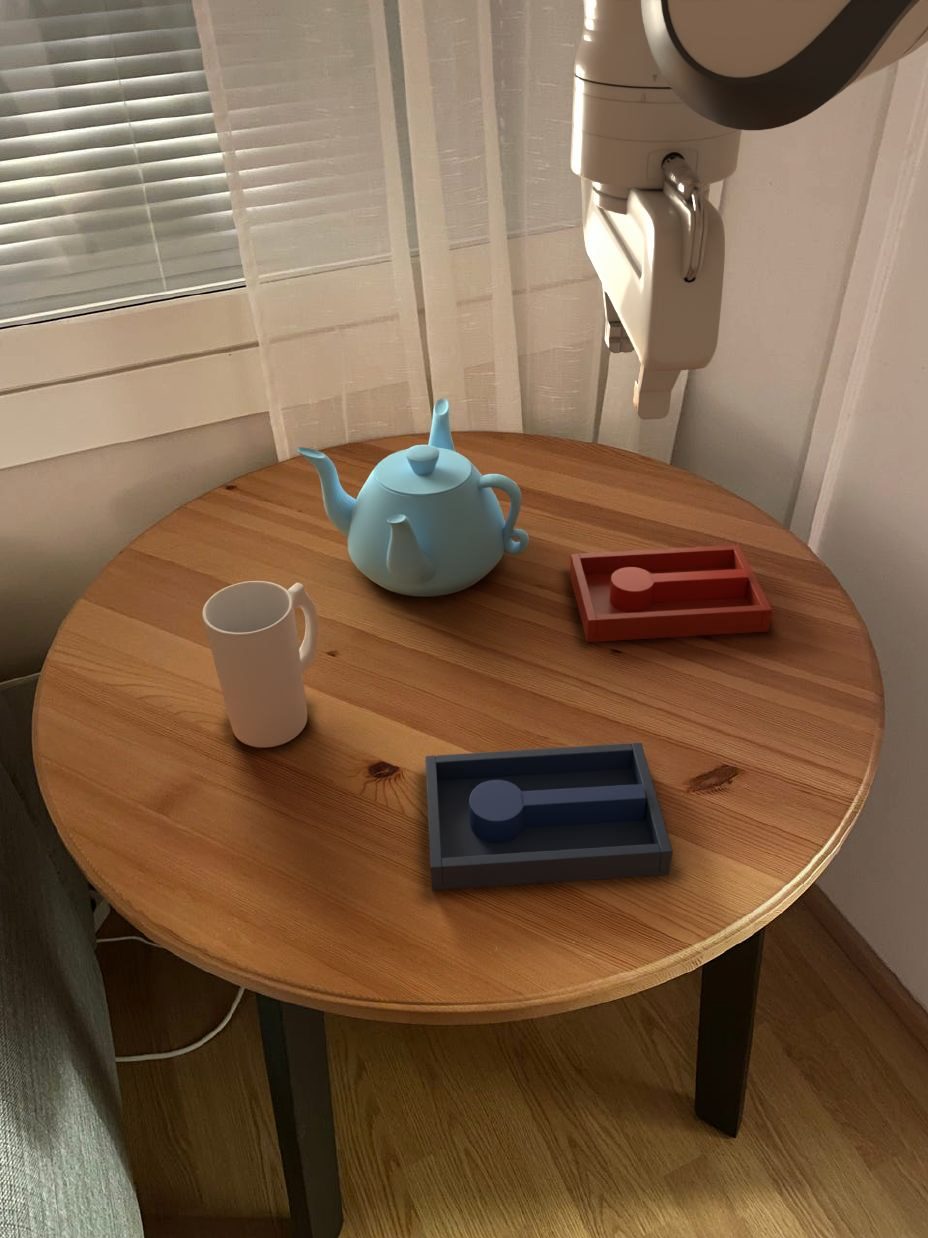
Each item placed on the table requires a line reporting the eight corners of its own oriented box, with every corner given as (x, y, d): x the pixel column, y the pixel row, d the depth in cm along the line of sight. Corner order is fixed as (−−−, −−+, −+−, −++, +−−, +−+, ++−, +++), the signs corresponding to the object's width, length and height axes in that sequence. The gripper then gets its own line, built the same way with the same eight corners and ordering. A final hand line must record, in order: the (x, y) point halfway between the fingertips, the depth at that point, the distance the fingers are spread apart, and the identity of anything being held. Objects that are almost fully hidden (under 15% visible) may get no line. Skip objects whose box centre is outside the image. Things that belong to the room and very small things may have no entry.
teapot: (303, 554, 103) (288, 447, 95) (447, 493, 112) (443, 391, 104) (401, 634, 92) (392, 520, 85) (551, 559, 101) (555, 450, 94)
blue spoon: (636, 793, 75) (639, 770, 74) (647, 834, 72) (650, 812, 71) (468, 803, 75) (467, 781, 74) (471, 845, 72) (470, 823, 70)
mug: (268, 763, 80) (244, 646, 72) (211, 728, 83) (183, 613, 75) (354, 694, 86) (340, 579, 78) (297, 664, 89) (279, 552, 82)
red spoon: (737, 581, 97) (740, 560, 95) (748, 606, 93) (752, 585, 92) (606, 588, 96) (607, 567, 95) (613, 613, 93) (615, 592, 92)
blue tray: (638, 765, 78) (641, 742, 77) (669, 875, 70) (673, 851, 69) (426, 778, 78) (425, 755, 76) (432, 891, 69) (430, 868, 68)
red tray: (735, 565, 100) (739, 544, 98) (768, 631, 91) (772, 609, 90) (569, 574, 99) (570, 553, 97) (586, 642, 91) (588, 620, 89)
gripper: (774, 183, 45) (731, 458, 53) (671, 94, 61) (650, 315, 70) (634, 189, 45) (613, 464, 53) (568, 98, 61) (560, 320, 69)
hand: (634, 379), depth 61 cm, fingers open, 8 cm apart
